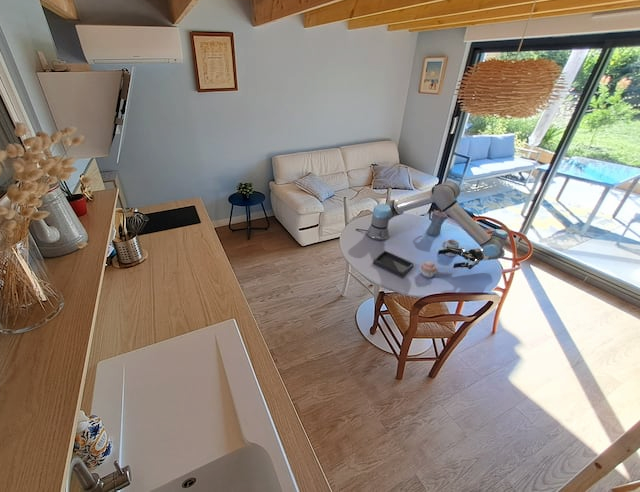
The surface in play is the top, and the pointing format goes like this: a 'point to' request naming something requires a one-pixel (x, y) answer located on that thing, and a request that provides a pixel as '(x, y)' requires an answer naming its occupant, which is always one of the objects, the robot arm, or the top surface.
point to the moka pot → (436, 222)
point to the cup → (451, 244)
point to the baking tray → (393, 263)
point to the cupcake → (428, 269)
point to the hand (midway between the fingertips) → (446, 258)
